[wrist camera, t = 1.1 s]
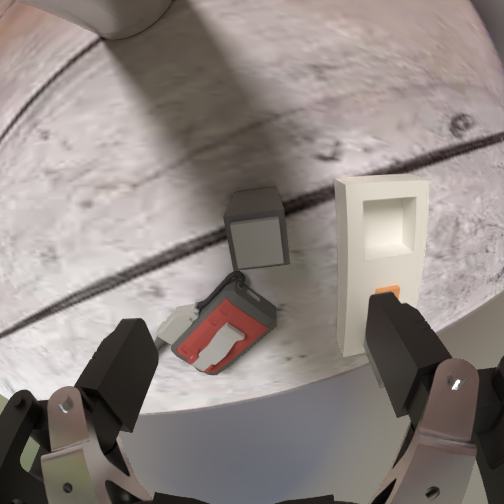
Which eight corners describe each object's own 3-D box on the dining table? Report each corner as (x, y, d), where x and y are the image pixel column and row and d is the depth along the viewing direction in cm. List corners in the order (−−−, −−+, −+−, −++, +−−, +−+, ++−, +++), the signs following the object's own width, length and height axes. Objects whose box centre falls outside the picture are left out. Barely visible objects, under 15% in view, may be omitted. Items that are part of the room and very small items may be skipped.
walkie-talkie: (221, 250, 26) (135, 354, 32) (214, 272, 22) (124, 377, 28) (288, 301, 28) (188, 386, 34) (292, 327, 24) (182, 410, 30)
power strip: (333, 178, 23) (380, 205, 13) (409, 173, 22) (478, 198, 13) (336, 337, 29) (357, 405, 20) (396, 324, 29) (430, 383, 20)
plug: (234, 192, 23) (222, 219, 15) (275, 186, 23) (284, 211, 15) (241, 230, 25) (232, 275, 17) (280, 225, 24) (290, 268, 17)
